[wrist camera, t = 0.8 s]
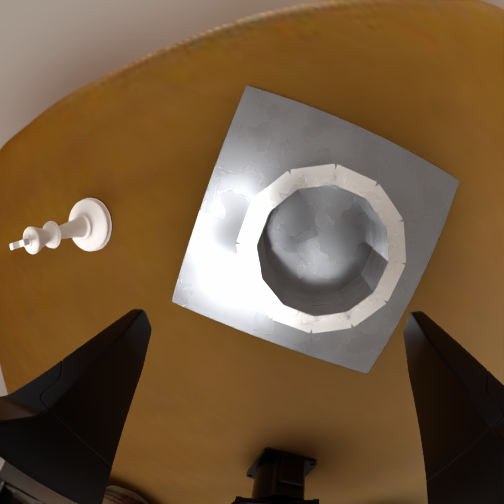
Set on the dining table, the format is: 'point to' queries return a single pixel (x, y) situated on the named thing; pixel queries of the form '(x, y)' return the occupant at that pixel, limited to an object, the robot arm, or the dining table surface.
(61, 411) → the robot arm
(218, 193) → the duct collar
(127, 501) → the ceramic jug
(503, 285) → the dining table surface
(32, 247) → the chess piece
